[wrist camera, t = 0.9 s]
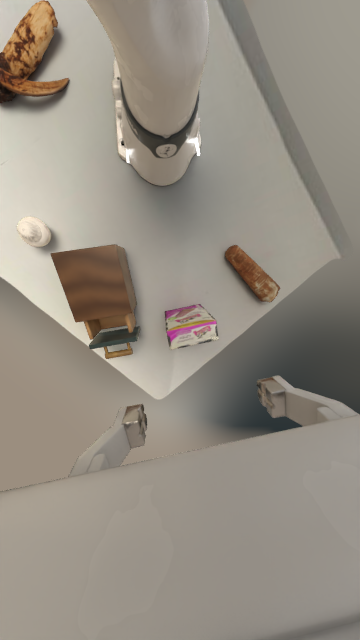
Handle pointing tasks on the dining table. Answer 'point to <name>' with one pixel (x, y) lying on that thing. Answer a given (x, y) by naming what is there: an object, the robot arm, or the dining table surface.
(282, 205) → the dining table surface
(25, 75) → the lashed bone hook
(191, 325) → the candy bar box
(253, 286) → the bread
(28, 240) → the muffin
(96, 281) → the cabinet
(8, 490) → the robot arm
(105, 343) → the drawer
